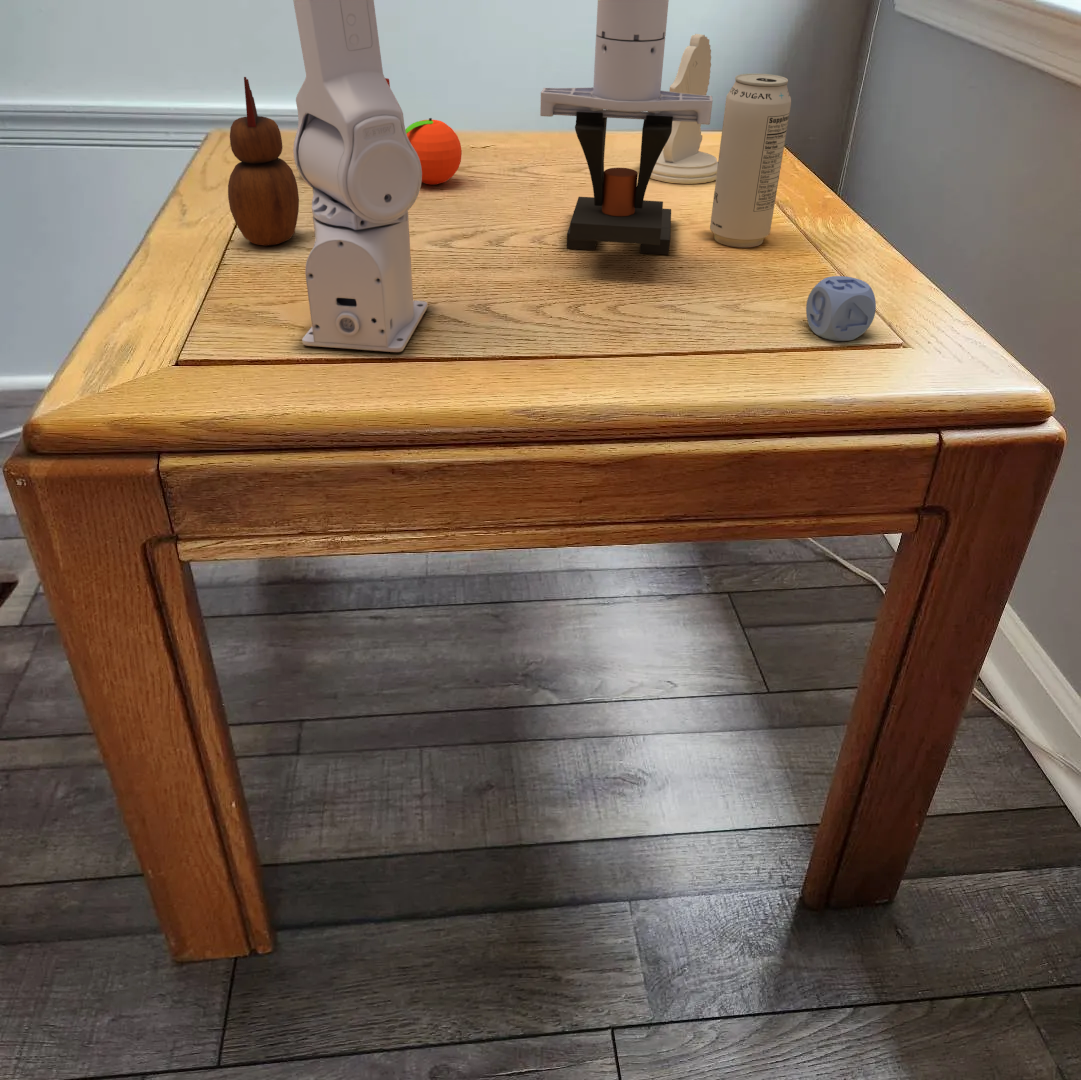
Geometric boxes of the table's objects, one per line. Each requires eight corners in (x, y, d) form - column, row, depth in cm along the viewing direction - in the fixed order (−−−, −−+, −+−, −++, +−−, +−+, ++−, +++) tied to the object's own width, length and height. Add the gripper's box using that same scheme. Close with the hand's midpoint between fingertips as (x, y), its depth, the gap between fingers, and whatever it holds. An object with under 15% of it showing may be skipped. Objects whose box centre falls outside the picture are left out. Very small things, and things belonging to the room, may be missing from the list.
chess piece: (625, 173, 116) (635, 35, 107) (665, 157, 122) (678, 26, 114) (697, 188, 111) (713, 45, 102) (734, 171, 118) (753, 35, 109)
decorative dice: (869, 338, 78) (881, 291, 75) (826, 343, 77) (836, 296, 74) (843, 319, 81) (854, 273, 78) (801, 324, 80) (810, 277, 77)
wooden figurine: (284, 254, 91) (260, 82, 82) (227, 248, 91) (198, 77, 83) (311, 231, 96) (292, 68, 87) (258, 226, 97) (233, 64, 88)
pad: (659, 245, 84) (665, 187, 81) (569, 239, 85) (571, 181, 82) (662, 207, 93) (667, 153, 90) (580, 202, 94) (583, 149, 91)
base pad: (668, 255, 93) (670, 239, 92) (566, 248, 94) (567, 233, 93) (670, 223, 101) (671, 208, 100) (576, 217, 102) (576, 203, 101)
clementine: (418, 197, 106) (414, 129, 102) (383, 183, 110) (378, 117, 106) (474, 185, 111) (473, 119, 106) (439, 172, 115) (436, 108, 111)
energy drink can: (724, 226, 100) (746, 69, 92) (778, 238, 98) (805, 77, 89) (698, 240, 96) (717, 78, 88) (752, 253, 94) (778, 87, 85)
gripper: (718, 32, 81) (699, 195, 89) (548, 25, 82) (545, 186, 90) (720, 46, 75) (699, 218, 83) (538, 38, 77) (535, 209, 85)
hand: (619, 203), depth 86 cm, fingers closed on pad, 3 cm apart
